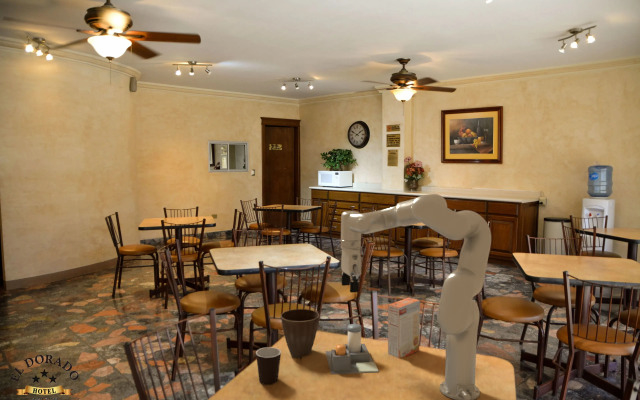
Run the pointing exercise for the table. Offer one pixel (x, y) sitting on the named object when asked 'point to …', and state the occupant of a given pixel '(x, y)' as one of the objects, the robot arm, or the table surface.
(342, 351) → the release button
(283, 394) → the table surface
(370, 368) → the mat
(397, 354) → the cracker box
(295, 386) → the table surface
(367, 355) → the grey compartment tray
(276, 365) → the coffee mug
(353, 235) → the robot arm
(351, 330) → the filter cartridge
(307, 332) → the plant pot
